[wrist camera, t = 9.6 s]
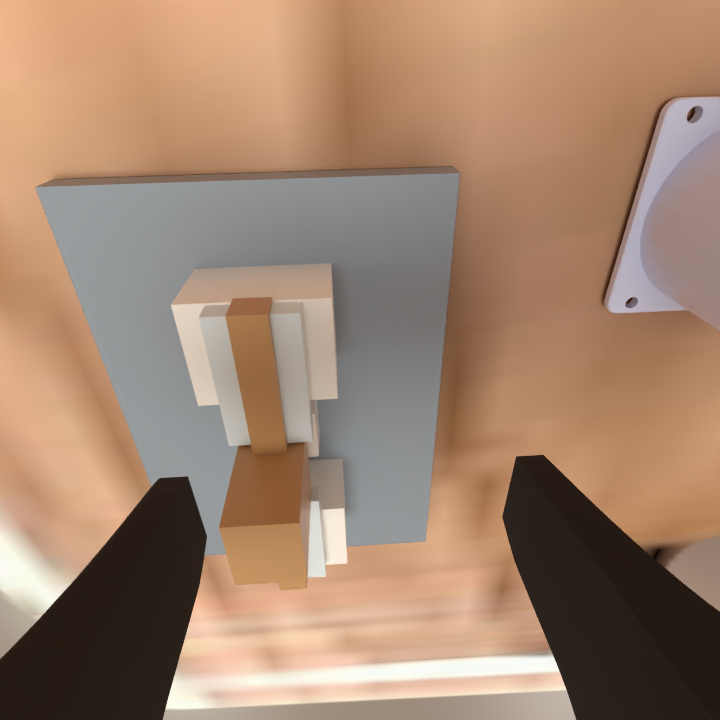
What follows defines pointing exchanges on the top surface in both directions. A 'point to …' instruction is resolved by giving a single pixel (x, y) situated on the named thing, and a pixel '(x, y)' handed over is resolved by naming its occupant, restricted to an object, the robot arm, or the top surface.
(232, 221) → the display stand
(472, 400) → the top surface
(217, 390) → the brown and white bar
